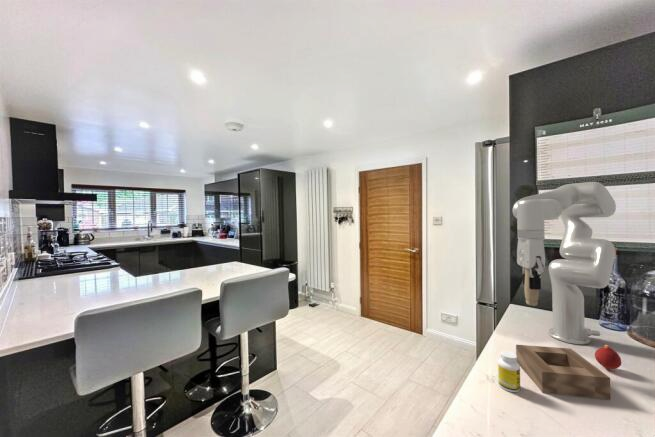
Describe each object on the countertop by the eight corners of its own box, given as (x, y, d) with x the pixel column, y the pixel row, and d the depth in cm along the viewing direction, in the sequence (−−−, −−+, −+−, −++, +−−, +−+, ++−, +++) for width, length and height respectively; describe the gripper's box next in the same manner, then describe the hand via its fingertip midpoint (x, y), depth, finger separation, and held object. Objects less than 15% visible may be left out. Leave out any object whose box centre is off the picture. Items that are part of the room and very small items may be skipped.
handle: (539, 308, 88) (538, 264, 88) (517, 303, 94) (517, 261, 94) (546, 306, 90) (545, 262, 90) (525, 301, 96) (524, 260, 96)
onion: (613, 366, 87) (613, 342, 87) (626, 376, 81) (626, 350, 81) (591, 363, 89) (590, 339, 89) (602, 373, 83) (601, 348, 83)
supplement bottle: (521, 395, 75) (520, 361, 74) (498, 389, 77) (497, 356, 77) (519, 384, 79) (518, 352, 79) (498, 379, 82) (497, 348, 82)
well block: (571, 366, 87) (570, 348, 87) (610, 399, 72) (610, 377, 72) (516, 361, 91) (516, 344, 91) (542, 392, 75) (541, 371, 75)
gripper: (508, 233, 101) (509, 281, 101) (529, 236, 85) (530, 293, 85) (531, 233, 99) (532, 282, 99) (557, 236, 83) (558, 294, 83)
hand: (531, 286), depth 92 cm, fingers closed on handle, 3 cm apart
